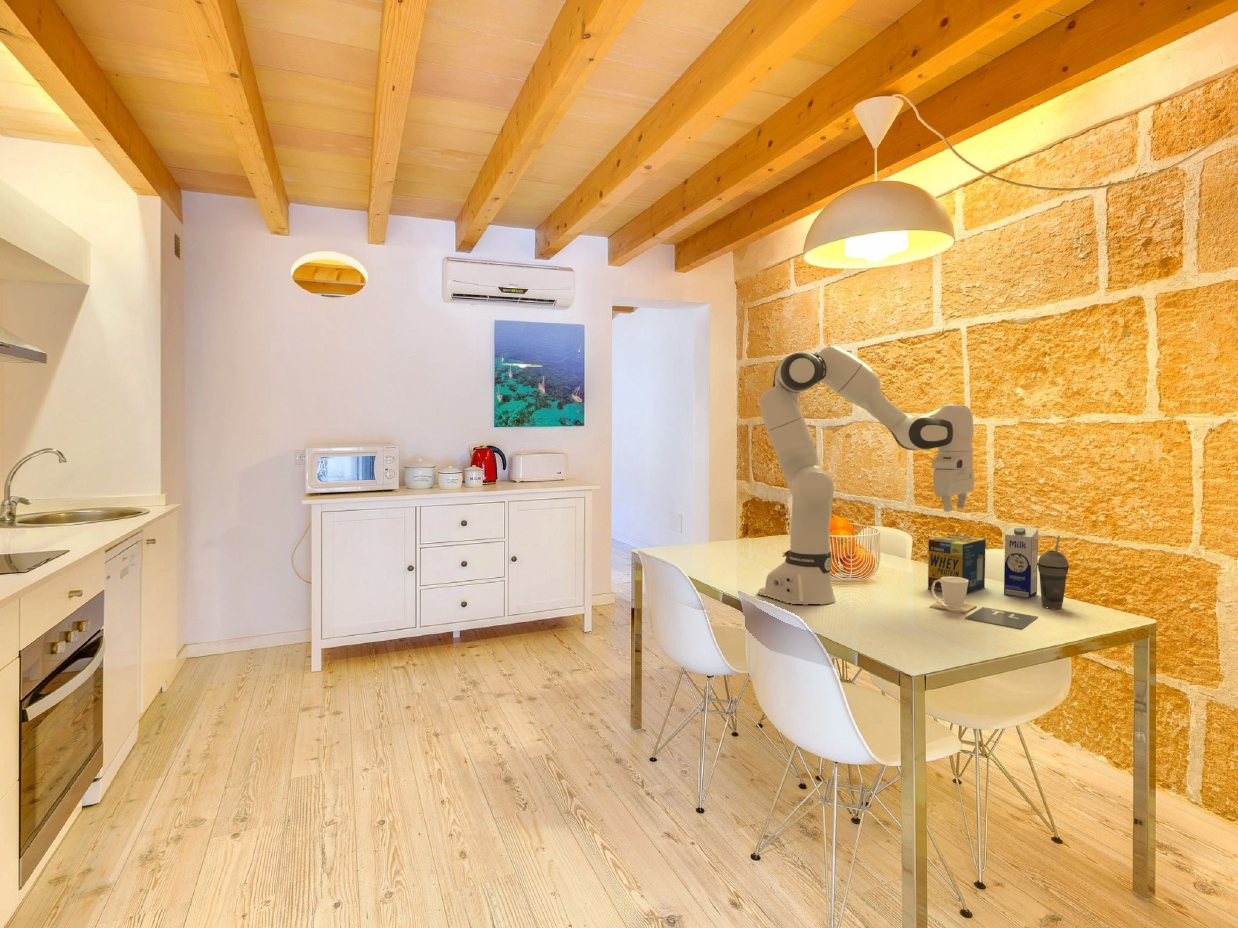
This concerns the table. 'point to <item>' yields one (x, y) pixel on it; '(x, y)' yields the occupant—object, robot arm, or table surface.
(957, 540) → the protein box
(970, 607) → the cork pad
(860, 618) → the table surface
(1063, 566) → the beverage cup
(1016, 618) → the tile
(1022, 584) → the milk carton
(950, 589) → the cup
